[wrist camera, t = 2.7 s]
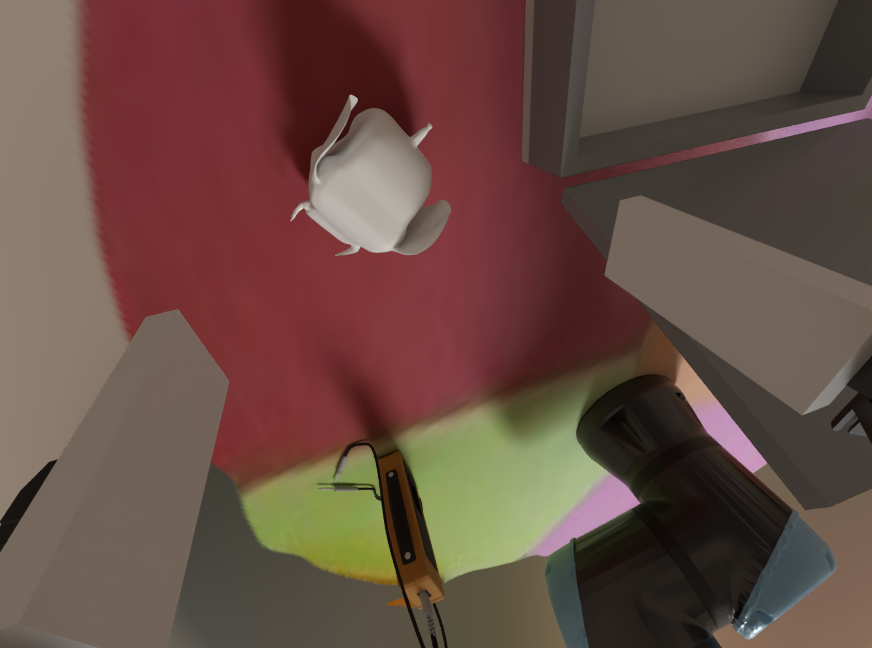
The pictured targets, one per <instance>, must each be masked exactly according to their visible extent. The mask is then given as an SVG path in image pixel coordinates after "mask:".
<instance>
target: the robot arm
mask: <svg viewBox="0 0 872 648" xmlns="http://www.w3.org/2000/svg"><path fill="white" fill-rule="evenodd" d="M604 276H606V277H607V278H609V279H610V280H612V281H613V282H614V283H616V284H617V285H619V286H620V287H621V288H623V289H624V290H626V291H627V292H628V293H630V294H631V295H633V296H634V297H636V298H637V299H638V300H640V301H641V302H643V303H644V304H645V305H647V306H648V307H650V308H651V309H652V310H654V311H655V312H657V313H658V314H660V315H661V316H662V317H664V318H665V319H667V320H668V321H669V322H671V323H672V324H674V325H675V326H677V327H678V328H679V329H681V330H682V331H684V332H685V333H686V334H688V335H689V336H691V337H692V338H693V339H695V340H696V341H698V342H699V343H701V344H702V345H703V346H705V347H706V348H708V349H709V350H710V351H712V352H713V353H715V354H716V355H717V356H719V357H720V358H722V359H723V360H725V361H726V362H727V363H729V364H730V365H732V366H733V367H734V368H736V369H737V370H739V371H740V372H741V373H743V374H744V375H746V376H747V377H749V378H750V379H751V380H753V381H754V382H756V383H757V384H758V385H760V386H761V387H763V388H764V389H766V390H767V391H768V392H770V393H771V394H773V395H774V396H775V397H777V398H778V399H780V400H781V401H782V402H784V403H785V404H787V405H788V406H790V407H791V408H792V409H794V410H795V411H797V412H798V413H799V414H801V415H804V414H807V413H809V412H812V411H814V410H817V409H820V408H822V407H825V406H827V405H829V404H830V403H831V402H832V401H833V400H834V399H835V398H836V396H837V395H838V394H839V393H840V392H841V391H842V390H843V389H844V388H845V386H846V385H847V386H849V387H850V388H852V389H854V390H855V391H857V392H858V393H857V394H856V395H855V397H854V398H853V399H852V400H851V401H850V402H849V403H848V404H847V405H846V406H845V407H844V408H843V409H842V410H841V411H840V412H839V413H838V414H837V416H836V417H835V418H834V419H833V420H832V421H831V427H832V430H835V431H839V430H840V429H841V428H842V427H843V426H844V425H845V424H846V423H847V422H848V421H849V420H850V419H857V421H856V422H855V423H854V424H853V425H852V426H851V427H850V428H849V430H848V433H849V434H854V435H859V436H864V437H868V438H869V440H870V442H871V444H872V286H870V285H867V284H865V283H862V282H860V281H857V280H855V279H852V278H849V277H847V276H844V275H842V274H839V273H837V272H834V271H832V270H829V269H827V268H824V267H822V266H819V265H816V264H814V263H811V262H809V261H806V260H804V259H801V258H799V257H796V256H794V255H791V254H789V253H786V252H783V251H781V250H778V249H776V248H773V247H771V246H768V245H766V244H763V243H761V242H758V241H756V240H753V239H750V238H748V237H745V236H743V235H740V234H738V233H735V232H733V231H730V230H728V229H725V228H723V227H720V226H717V225H715V224H712V223H710V222H707V221H705V220H702V219H700V218H697V217H695V216H692V215H690V214H687V213H684V212H682V211H679V210H677V209H674V208H672V207H669V206H667V205H664V204H662V203H659V202H657V201H654V200H651V199H649V198H646V197H644V196H641V195H640V196H636V197H632V198H628V199H624V200H620V202H619V207H618V212H617V217H616V222H615V227H614V231H613V236H612V241H611V246H610V251H609V256H608V261H607V265H606V270H605V275H604ZM228 385H229V380H228V379H227V378H226V376H225V375H224V373H223V372H222V371H221V369H220V368H219V366H218V365H217V363H216V362H215V361H214V359H213V358H212V356H211V355H210V354H209V352H208V351H207V349H206V348H205V347H204V345H203V344H202V342H201V341H200V340H199V338H198V337H197V335H196V334H195V332H194V331H193V330H192V328H191V327H190V325H189V324H188V323H187V321H186V320H185V318H184V317H183V316H182V314H181V313H180V311H179V310H178V309H177V310H173V311H169V312H165V313H161V314H157V315H152V316H148V317H146V318H145V319H144V321H143V323H142V324H141V326H140V328H139V329H138V331H137V332H136V334H135V336H134V337H133V339H132V341H131V342H130V344H129V345H128V347H127V349H126V350H125V352H124V353H123V355H122V357H121V358H120V360H119V362H118V363H117V365H116V366H115V368H114V370H113V371H112V373H111V375H110V376H109V378H108V379H107V381H106V383H105V384H104V386H103V387H102V389H101V391H100V392H99V394H98V396H97V397H96V399H95V400H94V402H93V404H92V405H91V407H90V409H89V410H88V412H87V414H86V415H85V417H84V418H83V420H82V421H81V423H80V425H79V426H78V428H77V430H76V431H75V433H74V434H73V436H72V438H71V439H70V441H69V442H68V444H67V446H66V447H65V449H64V451H63V452H62V454H61V455H60V457H59V459H57V460H54V461H51V462H49V463H48V464H47V465H46V466H45V467H44V468H43V469H42V470H41V471H40V472H39V473H38V474H37V475H36V476H35V477H34V478H33V479H32V480H31V481H30V482H29V483H28V484H27V485H26V486H25V487H24V488H23V489H22V490H21V491H20V492H19V494H18V495H17V497H16V498H15V500H14V501H13V503H12V504H11V506H10V507H9V509H8V510H7V512H6V513H5V515H4V516H3V518H2V519H1V521H0V523H1V526H0V648H167V647H168V643H169V638H170V633H171V630H172V625H173V621H174V617H175V612H176V608H177V604H178V600H179V595H180V591H181V587H182V582H183V578H184V574H185V570H186V565H187V561H188V557H189V552H190V548H191V544H192V539H193V535H194V531H195V527H196V522H197V518H198V514H199V509H200V505H201V501H202V496H203V492H204V487H205V483H206V479H207V475H208V471H209V466H210V462H211V458H212V453H213V449H214V445H215V441H216V436H217V432H218V428H219V423H220V419H221V415H222V410H223V406H224V402H225V398H226V393H227V389H228ZM577 440H578V442H579V444H580V445H581V447H582V448H583V449H584V451H585V452H586V454H587V455H588V456H589V457H590V458H591V459H593V460H594V461H595V462H597V463H598V464H599V465H600V466H602V467H603V468H604V469H606V470H607V471H608V472H609V473H611V474H612V475H613V476H615V477H616V478H617V479H619V480H620V481H621V482H623V483H624V484H625V485H626V486H627V487H628V488H629V489H630V490H631V492H632V493H633V494H634V496H635V497H636V498H637V499H638V501H639V502H640V504H639V505H637V506H636V507H634V508H632V509H630V510H628V511H626V512H625V513H623V514H621V515H619V516H618V517H616V518H614V519H612V520H610V521H608V522H607V523H605V524H603V525H601V526H599V527H597V528H595V529H594V530H592V531H590V532H588V533H586V534H584V535H582V536H580V537H579V538H577V539H576V538H575V537H574V538H572V539H571V540H570V542H569V543H568V544H566V545H565V546H563V547H562V548H560V549H558V550H557V551H555V552H554V553H552V554H551V555H550V556H549V557H548V559H547V561H546V564H545V578H546V584H547V588H548V593H549V596H550V600H551V604H552V607H553V610H554V613H555V616H556V619H557V622H558V625H559V628H560V630H561V633H562V636H563V639H564V641H565V644H566V646H567V648H722V647H721V646H720V645H719V643H718V642H717V640H716V639H715V638H714V636H713V633H714V632H715V631H717V630H718V629H720V628H722V627H724V626H726V625H728V624H731V623H732V624H733V628H734V629H735V631H736V632H738V633H740V634H741V635H742V636H743V637H745V638H747V639H752V638H753V637H754V636H756V635H757V634H758V633H760V632H761V631H762V630H763V629H765V628H766V627H767V626H768V625H769V624H771V623H772V622H773V621H775V619H777V618H778V617H780V616H781V615H782V614H783V613H785V612H786V611H787V610H788V609H790V608H791V607H792V606H794V605H795V604H796V603H797V602H798V601H800V600H801V599H802V598H803V597H805V596H806V595H807V594H808V593H810V592H811V591H812V590H813V589H815V588H816V587H817V586H818V585H820V584H821V583H822V582H823V581H825V580H826V579H827V578H828V577H830V576H831V574H833V573H834V572H835V570H836V567H837V560H836V557H835V554H834V553H833V551H832V549H831V548H830V547H829V545H828V544H827V543H826V542H825V541H824V540H823V539H822V538H821V537H820V536H819V535H818V534H817V533H816V532H815V531H814V530H812V528H810V527H809V526H808V525H807V524H806V523H805V522H804V521H803V520H802V519H801V518H800V517H799V513H798V512H797V511H796V510H794V509H793V510H792V509H791V508H790V507H789V506H788V505H787V504H786V503H785V502H784V501H782V500H781V499H780V498H779V497H778V496H777V495H776V494H775V493H774V492H772V491H771V490H770V489H769V488H768V487H767V486H766V485H765V484H764V483H762V482H761V481H760V480H759V479H758V478H757V477H756V476H754V475H753V474H752V473H751V472H750V471H749V470H748V469H747V468H746V467H745V466H743V465H742V464H741V463H740V462H739V461H738V460H737V459H736V458H735V457H733V456H732V455H731V454H730V453H729V452H728V451H727V450H726V449H725V448H723V447H722V446H721V445H720V444H719V443H718V442H717V441H716V440H714V439H713V438H712V437H711V436H710V435H709V434H708V433H707V431H706V430H705V429H704V427H703V425H702V424H701V422H700V420H699V419H698V417H697V415H696V414H695V412H694V411H693V409H692V407H691V406H690V404H689V403H688V401H687V400H686V398H685V396H684V394H683V393H682V391H681V390H680V389H679V388H678V387H677V386H676V385H674V384H673V383H672V382H671V381H670V380H669V379H667V378H666V377H664V376H660V375H649V376H643V377H640V378H636V379H634V380H631V381H629V382H627V383H624V384H622V385H621V386H619V387H617V388H615V389H614V390H612V391H611V392H609V393H608V394H607V395H605V396H604V397H603V398H601V399H600V400H599V401H598V402H597V403H596V404H595V405H594V406H593V407H592V408H591V409H590V410H589V411H588V413H587V414H586V415H585V417H584V418H583V420H582V421H581V423H580V425H579V428H578V431H577Z"/></svg>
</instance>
